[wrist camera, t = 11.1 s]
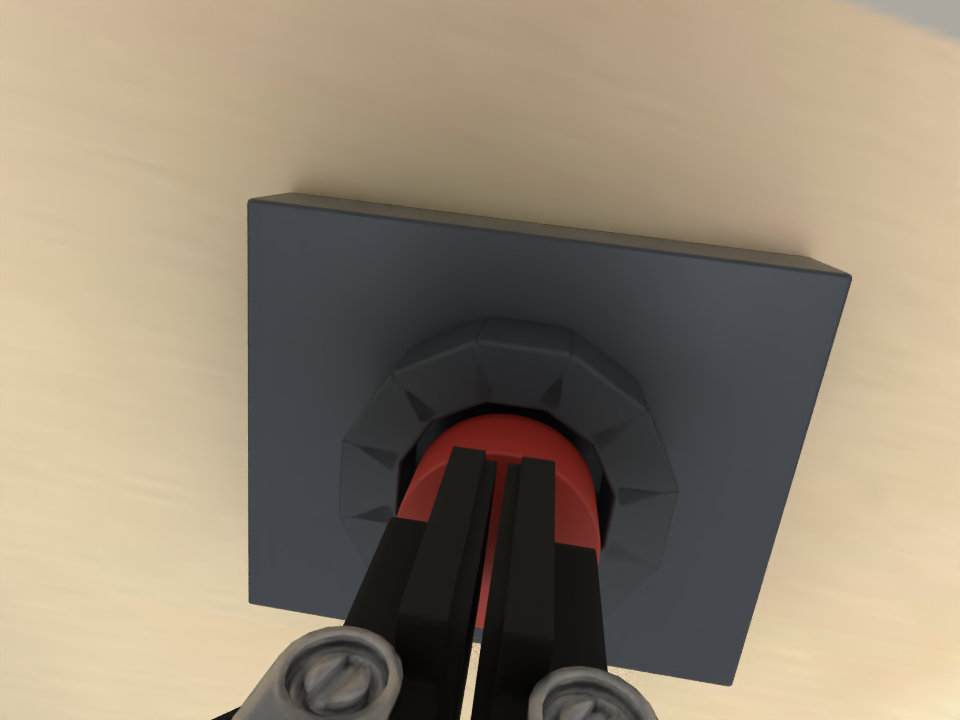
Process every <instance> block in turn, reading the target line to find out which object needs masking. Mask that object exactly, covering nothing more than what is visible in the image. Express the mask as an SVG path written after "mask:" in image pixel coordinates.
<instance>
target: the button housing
mask: <svg viewBox="0 0 960 720" xmlns="http://www.w3.org/2000/svg"><path fill="white" fill-rule="evenodd" d="M247 224H248V557H249V603H250V604H255V605H260V606H266V607H272V608H278V609H284V610H289V611H295V612H301V613H307V614H312V615H318V616H324V617H330V618H336V619H341V620H346V618H347V616H348V613H349V611H350V609H351V607H352V604H353V602H354V600H355V597H356V595H357V593H358V591H359V588H360V586H361V584H362V581H363V579H364V577H365V574H366V572H367V570H368V568H369V565H370V563H371V561H372V558H373V556H374V554H375V552H376V549H377V547H378V545H379V542H380V540H381V538H382V535H383V533H384V531H385V529H386V526H387V524H388V522H389V520H390V518H391V517H397V515H398V512H399V509H400V505H401V503H402V501H403V499H404V496H405V494H406V492H407V490H408V487H409V485H410V483H411V480H412V478H413V476H414V474H415V471H416V469H417V467H418V465H419V462H420V460H421V458H422V456H423V454H424V453H425V451H426V450H427V448H428V447H429V446H430V444H431V443H432V442H433V441H434V440H435V439H436V438H437V437H438V436H439V435H440V434H442V433H443V432H444V431H445V430H447V429H448V428H450V427H452V426H453V425H455V424H457V423H459V422H461V421H463V420H466V419H469V418H472V417H476V416H480V415H486V414H499V413H504V414H515V415H520V416H525V417H528V418H531V419H534V420H537V421H540V422H542V423H544V424H546V425H548V426H550V427H552V428H553V429H555V430H556V431H558V432H559V433H561V434H562V435H563V436H564V437H566V438H567V439H568V440H569V441H570V442H571V443H572V444H573V445H574V446H575V447H576V448H577V450H578V451H579V452H580V454H581V455H582V457H583V458H584V460H585V462H586V464H587V466H588V468H589V470H590V473H591V476H592V479H593V483H594V488H595V496H596V505H597V514H598V523H599V532H600V548H601V549H600V558H599V563H598V574H599V584H600V595H601V606H602V616H603V627H604V638H605V649H606V659H607V666H613V667H619V668H625V669H631V670H636V671H642V672H648V673H654V674H659V675H665V676H671V677H677V678H683V679H688V680H694V681H700V682H706V683H711V684H717V685H723V686H731V685H732V683H733V680H734V676H735V673H736V670H737V666H738V663H739V659H740V656H741V653H742V649H743V646H744V643H745V639H746V636H747V632H748V629H749V626H750V622H751V619H752V616H753V612H754V609H755V605H756V602H757V599H758V595H759V592H760V589H761V585H762V582H763V578H764V575H765V572H766V568H767V565H768V561H769V558H770V555H771V551H772V548H773V545H774V541H775V538H776V534H777V531H778V528H779V524H780V521H781V518H782V514H783V511H784V507H785V504H786V501H787V497H788V494H789V491H790V487H791V484H792V480H793V477H794V474H795V470H796V467H797V464H798V460H799V457H800V453H801V450H802V447H803V443H804V440H805V437H806V433H807V430H808V426H809V423H810V420H811V416H812V413H813V409H814V406H815V403H816V399H817V396H818V393H819V389H820V386H821V382H822V379H823V376H824V372H825V369H826V366H827V362H828V359H829V355H830V352H831V349H832V345H833V342H834V339H835V335H836V332H837V328H838V325H839V322H840V318H841V315H842V312H843V308H844V305H845V301H846V298H847V295H848V291H849V288H850V285H851V281H852V275H850V274H848V273H846V272H843V271H841V270H839V269H836V268H834V267H831V266H829V265H827V264H824V263H822V262H819V261H817V260H815V259H812V258H810V257H803V256H795V255H787V254H779V253H771V252H763V251H755V250H747V249H739V248H731V247H723V246H715V245H707V244H699V243H691V242H683V241H675V240H667V239H659V238H651V237H643V236H635V235H627V234H619V233H611V232H603V231H595V230H586V229H578V228H570V227H562V226H554V225H546V224H538V223H530V222H522V221H514V220H506V219H498V218H490V217H482V216H474V215H466V214H458V213H450V212H442V211H434V210H426V209H418V208H410V207H402V206H394V205H386V204H378V203H370V202H362V201H354V200H346V199H338V198H330V197H322V196H314V195H306V194H298V193H284V194H277V195H271V196H264V197H258V198H252V199H249V200H248V203H247ZM482 635H483V628H479V627H475V631H474V637H473V642H474V643H480V644H481V642H482Z"/></svg>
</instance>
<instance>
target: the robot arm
mask: <svg viewBox="0 0 960 720" xmlns="http://www.w3.org/2000/svg"><path fill="white" fill-rule="evenodd" d="M497 463H498V461H493V460H486V451H485V450H478V449H471V448H465V447H458V446H453V448H452V451H451V454H450V457H449V460H448V463H447V466H446V469H445V472H444V475H443V478H442V481H441V484H440V487H439V490H438V493H437V496H436V499H435V502H434V505H433V508H432V511H431V514H430V517H429V520H428V522H425V521H418V520H412V519H406V518H399V517H391V518H390V520H389V522H388V524H387V526H386V529H385V531H384V533H383V535H382V538H381V540H380V542H379V545H378V547H377V549H376V552H375V554H374V556H373V558H372V561H371V563H370V565H369V568H368V570H367V572H366V574H365V577H364V579H363V581H362V584H361V586H360V588H359V591H358V593H357V595H356V597H355V600H354V602H353V604H352V607H351V609H350V611H349V613H348V616H347V618H346V620H345V623H344V625H343V626H335V627H326V628H323V629H319V630H316V631H313V632H309V633H308V634H306V635H304V636H302V637H301V638H299V639H297V640H295V641H294V642H292V643H291V644H290V645H289V646H288V647H287V648H286V649H285V650H284V651H283V652H282V653H281V654H280V655H279V656H278V658H277V659H276V660H275V662H274V663H273V664H272V666H271V667H270V668H269V670H268V671H267V672H266V674H265V675H264V676H263V678H262V679H261V680H260V682H259V683H258V684H257V686H256V687H255V688H254V690H253V691H252V692H251V694H250V695H249V696H248V698H247V699H246V700H245V702H244V703H243V704H242V706H240V707H238V708H236V709H234V710H232V711H230V712H227V713H225V714H223V715H221V716H219V717H217V718H214V719H212V720H460V715H461V709H462V703H463V697H464V691H465V685H466V679H467V673H468V667H469V661H470V655H471V649H472V643H473V637H474V631H475V625H476V619H477V613H478V606H479V600H480V592H481V585H482V577H483V570H484V562H485V554H486V547H487V539H488V532H489V524H490V517H491V509H492V501H493V494H494V486H495V479H496V471H497ZM471 720H658V718H657V716H656V714H655V712H654V710H653V708H652V707H651V705H650V703H649V702H648V701H647V700H646V699H645V698H644V697H643V696H642V694H641V693H640V692H639V691H638V690H637V689H636V688H634V687H633V686H632V685H630V684H629V683H627V682H626V681H624V680H623V679H622V678H620V677H618V676H616V675H613V674H611V673H609V672H608V670H607V659H606V649H605V638H604V627H603V616H602V606H601V595H600V584H599V574H598V563H597V554H596V550H595V549H594V548H588V547H582V546H576V545H570V544H563V543H557V542H555V461H551V460H545V459H538V458H531V457H525V456H522V461H521V465H519V464H513V463H508V467H507V474H506V480H505V487H504V494H503V500H502V507H501V514H500V521H499V527H498V534H497V541H496V547H495V554H494V561H493V567H492V574H491V581H490V587H489V594H488V601H487V607H486V614H485V621H484V628H483V635H482V642H481V649H480V656H479V664H478V671H477V678H476V685H475V693H474V700H473V707H472V715H471Z"/></svg>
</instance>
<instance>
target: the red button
mask: <svg viewBox="0 0 960 720" xmlns="http://www.w3.org/2000/svg"><path fill="white" fill-rule="evenodd" d="M453 446H458V447H465V448H471V449H478V450H485V451H486V460H493V461H498V463H497V471H496V479H495V486H494V494H493V501H492V509H491V517H490V524H489V532H488V539H487V547H486V554H485V562H484V570H483V577H482V585H481V592H480V600H479V606H478V613H477V619H476V625H475V627H479V628H484V621H485V614H486V607H487V601H488V594H489V587H490V581H491V574H492V567H493V561H494V554H495V547H496V541H497V534H498V527H499V521H500V514H501V507H502V500H503V494H504V487H505V480H506V474H507V467H508V463H513V464H519V465H521V461H522V456H525V457H531V458H538V459H545V460H551V461H555V542H557V543H563V544H570V545H576V546H582V547H588V548H594V549H595V550H596V554H597V563H599V558H600V549H601V548H600V532H599V523H598V514H597V505H596V496H595V488H594V483H593V479H592V476H591V473H590V470H589V468H588V466H587V464H586V462H585V460H584V458H583V457H582V455H581V454H580V452H579V451H578V450H577V448H576V447H575V446H574V445H573V444H572V443H571V442H570V441H569V440H568V439H567V438H566V437H564V436H563V435H562V434H561V433H559V432H558V431H556V430H555V429H553V428H552V427H550V426H548V425H546V424H544V423H542V422H540V421H537V420H534V419H531V418H528V417H525V416H520V415H515V414H504V413H499V414H486V415H480V416H476V417H472V418H469V419H466V420H463V421H461V422H459V423H457V424H455V425H453V426H452V427H450V428H448V429H447V430H445V431H444V432H443V433H442V434H440V435H439V436H438V437H437V438H436V439H435V440H434V441H433V442H432V443H431V444H430V446H429V447H428V448H427V450H426V451H425V453H424V454H423V456H422V458H421V460H420V462H419V465H418V467H417V469H416V471H415V474H414V476H413V478H412V480H411V483H410V485H409V487H408V490H407V492H406V494H405V496H404V499H403V501H402V503H401V505H400V509H399V512H398V515H397V517H399V518H406V519H412V520H418V521H425V522H428V520H429V517H430V514H431V511H432V508H433V505H434V502H435V499H436V496H437V493H438V490H439V487H440V484H441V481H442V478H443V475H444V472H445V469H446V466H447V463H448V460H449V457H450V454H451V451H452V448H453Z"/></svg>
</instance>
